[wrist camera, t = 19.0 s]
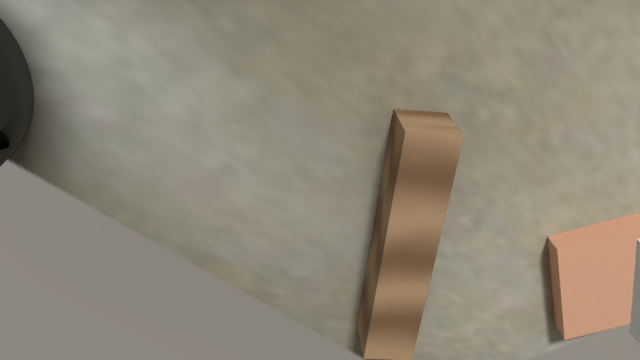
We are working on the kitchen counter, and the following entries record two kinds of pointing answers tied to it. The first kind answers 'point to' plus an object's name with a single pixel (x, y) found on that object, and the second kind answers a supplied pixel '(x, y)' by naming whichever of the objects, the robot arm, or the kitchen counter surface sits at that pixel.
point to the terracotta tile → (593, 276)
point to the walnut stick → (407, 230)
